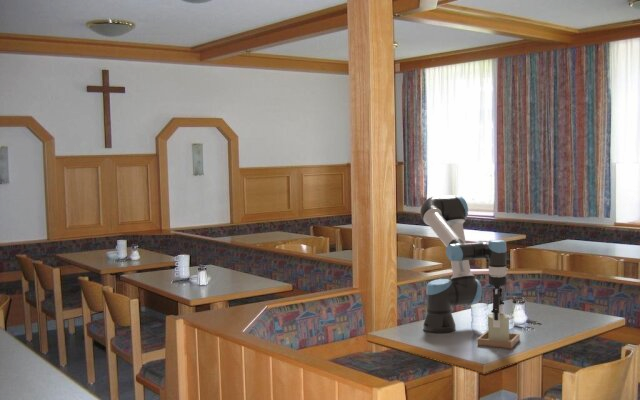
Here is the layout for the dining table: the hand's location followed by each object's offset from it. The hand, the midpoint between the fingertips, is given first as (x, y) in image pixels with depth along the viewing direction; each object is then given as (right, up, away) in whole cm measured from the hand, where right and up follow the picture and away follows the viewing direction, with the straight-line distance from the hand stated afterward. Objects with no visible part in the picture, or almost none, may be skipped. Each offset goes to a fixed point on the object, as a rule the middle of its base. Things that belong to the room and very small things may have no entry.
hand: (497, 323), depth 306 cm
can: (0, -8, 0) cm, 8 cm away
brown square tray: (0, -9, 0) cm, 9 cm away
